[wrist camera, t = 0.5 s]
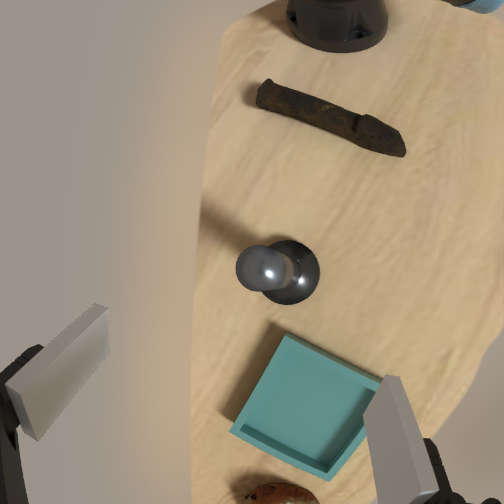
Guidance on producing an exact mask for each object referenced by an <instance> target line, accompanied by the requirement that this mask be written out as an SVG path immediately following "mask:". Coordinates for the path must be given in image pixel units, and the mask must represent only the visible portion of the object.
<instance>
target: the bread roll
mask: <svg viewBox="0 0 504 504" xmlns="http://www.w3.org/2000/svg"><path fill="white" fill-rule="evenodd" d="M245 498H246V499H247V500H246V502H245V504H319V501H318V500H317V499H316V497H315V496H314V495H313V494H312V493H311V492H309V491H308V490H306V489H302V488H299V487H296V486H293V485H289V484H285V483H275V484H267V485H263V486H261V487H259V488H257V489H255V490H254V491H253V492H251V494H249V495H246V496H245Z"/></svg>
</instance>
